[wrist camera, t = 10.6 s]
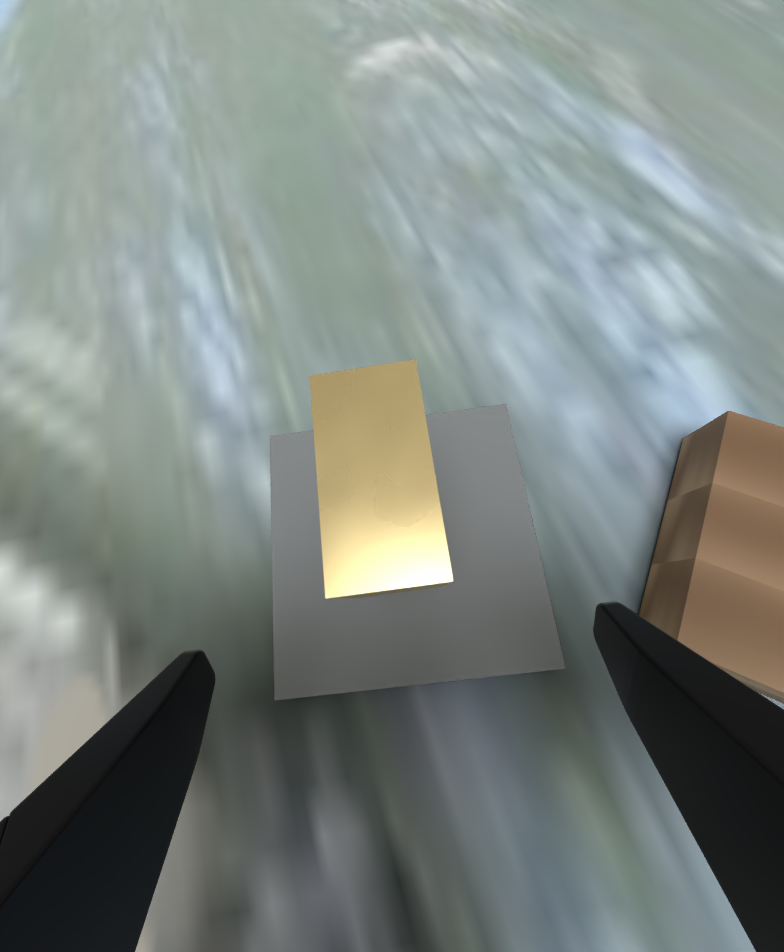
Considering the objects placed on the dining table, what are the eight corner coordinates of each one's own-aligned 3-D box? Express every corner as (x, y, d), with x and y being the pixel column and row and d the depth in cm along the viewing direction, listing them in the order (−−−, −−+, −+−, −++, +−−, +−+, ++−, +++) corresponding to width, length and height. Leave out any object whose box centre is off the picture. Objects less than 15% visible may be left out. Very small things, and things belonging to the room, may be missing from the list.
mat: (557, 664, 17) (565, 668, 16) (282, 694, 17) (274, 700, 16) (502, 413, 20) (506, 403, 19) (276, 443, 21) (269, 436, 20)
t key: (436, 590, 17) (453, 581, 7) (380, 598, 17) (325, 598, 8) (419, 482, 19) (415, 359, 9) (367, 489, 19) (309, 375, 9)
